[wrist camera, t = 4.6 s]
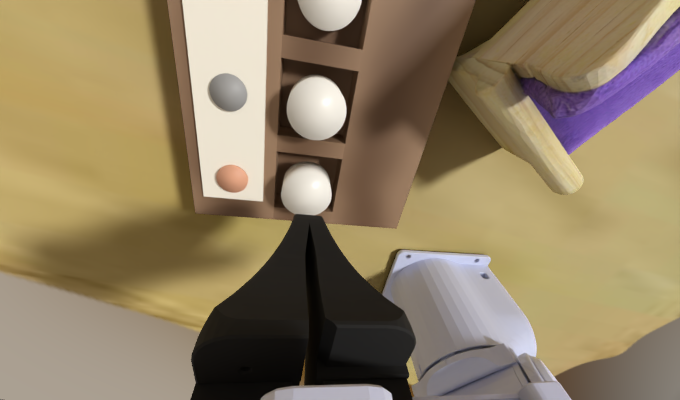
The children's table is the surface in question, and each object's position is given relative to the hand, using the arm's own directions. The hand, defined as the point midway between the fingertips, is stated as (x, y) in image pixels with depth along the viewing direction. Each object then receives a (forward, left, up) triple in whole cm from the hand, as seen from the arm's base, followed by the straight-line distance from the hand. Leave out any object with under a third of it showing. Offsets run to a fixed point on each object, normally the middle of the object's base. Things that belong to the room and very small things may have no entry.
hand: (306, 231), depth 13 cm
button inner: (0, 0, -5) cm, 5 cm away
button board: (0, -5, -7) cm, 9 cm away
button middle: (0, -5, -5) cm, 7 cm away
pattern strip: (+4, -5, -5) cm, 8 cm away
